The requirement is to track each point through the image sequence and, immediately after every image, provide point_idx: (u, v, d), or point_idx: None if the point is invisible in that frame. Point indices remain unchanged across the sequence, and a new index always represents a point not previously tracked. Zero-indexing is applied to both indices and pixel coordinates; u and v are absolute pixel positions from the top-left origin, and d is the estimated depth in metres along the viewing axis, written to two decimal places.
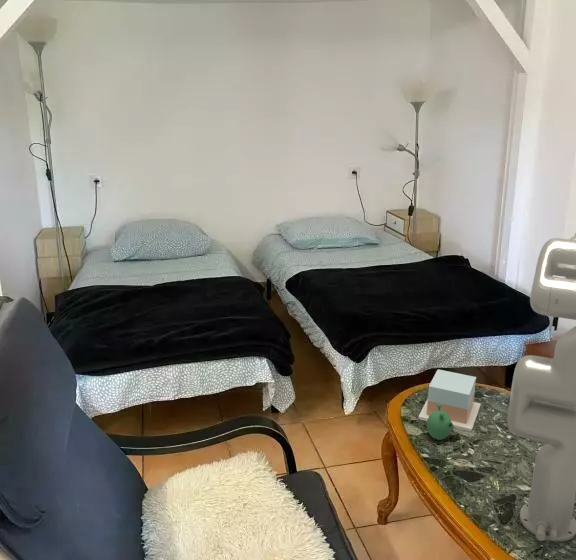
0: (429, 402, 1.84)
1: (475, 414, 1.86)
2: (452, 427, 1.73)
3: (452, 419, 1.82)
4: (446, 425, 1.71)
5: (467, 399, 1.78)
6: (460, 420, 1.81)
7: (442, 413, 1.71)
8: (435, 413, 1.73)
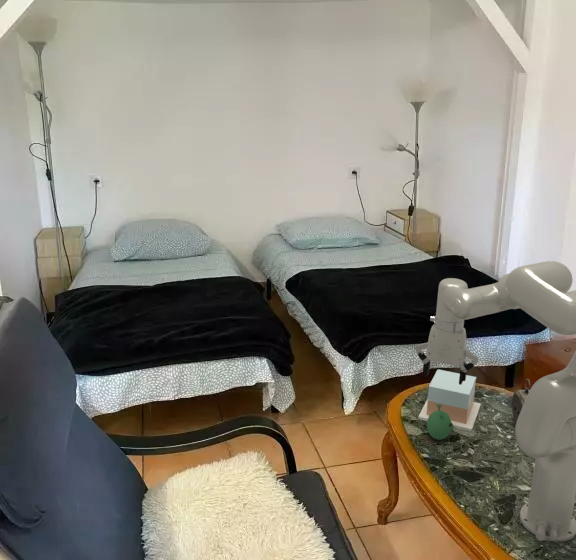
0: (429, 402, 1.84)
1: (475, 414, 1.86)
2: (452, 427, 1.73)
3: (452, 419, 1.82)
4: (446, 425, 1.71)
5: (467, 399, 1.78)
6: (460, 420, 1.81)
7: (442, 413, 1.71)
8: (435, 413, 1.73)
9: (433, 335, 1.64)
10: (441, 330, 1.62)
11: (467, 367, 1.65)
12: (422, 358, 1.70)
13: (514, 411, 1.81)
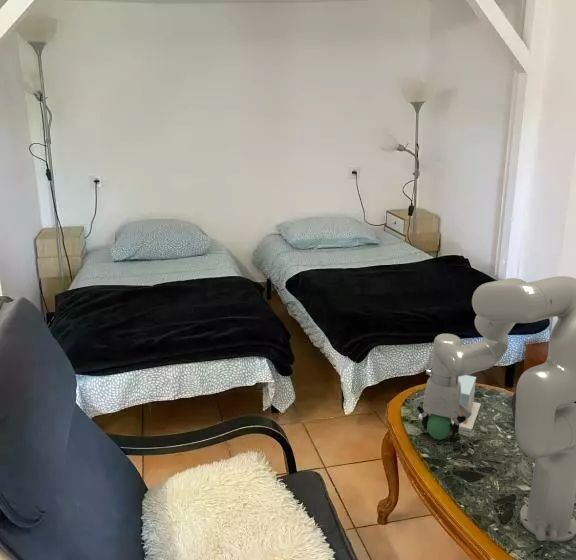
0: None
1: (475, 414, 1.86)
2: (452, 427, 1.73)
3: (452, 419, 1.82)
4: (446, 425, 1.71)
5: (467, 399, 1.78)
6: None
7: None
8: None
9: (429, 388, 1.70)
10: (437, 384, 1.67)
11: (460, 420, 1.70)
12: (421, 411, 1.75)
13: (514, 411, 1.81)
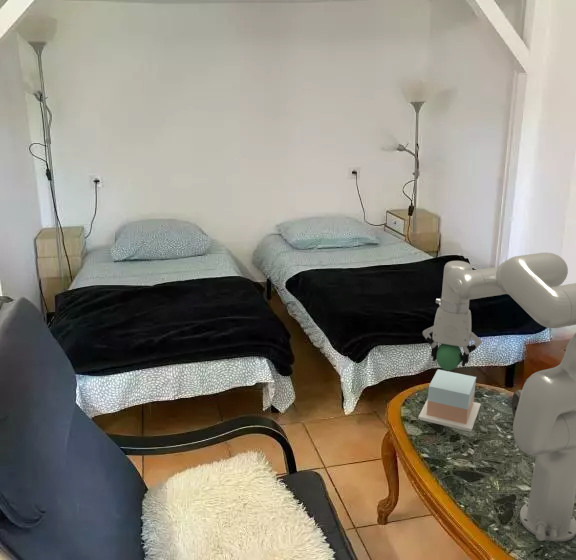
0: (429, 402, 1.84)
1: (475, 414, 1.86)
2: (462, 357, 1.72)
3: (452, 419, 1.82)
4: (456, 354, 1.70)
5: (467, 399, 1.78)
6: (460, 420, 1.81)
7: None
8: None
9: (439, 317, 1.68)
10: (447, 311, 1.65)
11: (470, 349, 1.69)
12: (430, 342, 1.73)
13: (514, 411, 1.81)
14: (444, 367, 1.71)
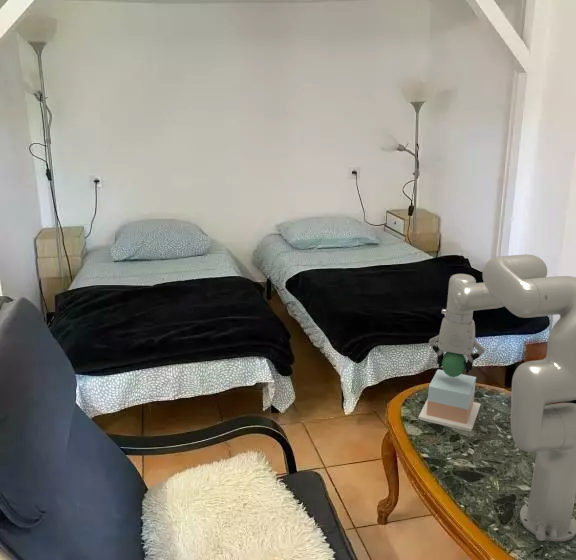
0: (429, 402, 1.84)
1: (475, 414, 1.86)
2: (466, 365, 1.82)
3: (452, 419, 1.82)
4: (460, 362, 1.80)
5: (467, 399, 1.78)
6: (460, 420, 1.81)
7: None
8: None
9: (444, 326, 1.78)
10: (452, 322, 1.76)
11: (473, 357, 1.79)
12: (436, 350, 1.83)
13: None
14: (449, 374, 1.82)
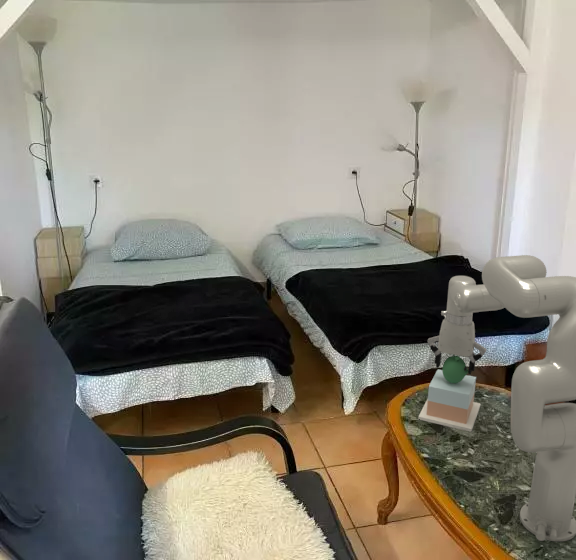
0: (429, 402, 1.84)
1: (475, 414, 1.86)
2: (466, 371, 1.82)
3: (452, 419, 1.82)
4: (461, 368, 1.80)
5: (467, 399, 1.78)
6: (460, 420, 1.81)
7: (457, 357, 1.79)
8: (450, 358, 1.82)
9: (444, 328, 1.78)
10: (451, 323, 1.76)
11: (476, 358, 1.79)
12: (434, 350, 1.84)
13: None
14: (450, 380, 1.82)
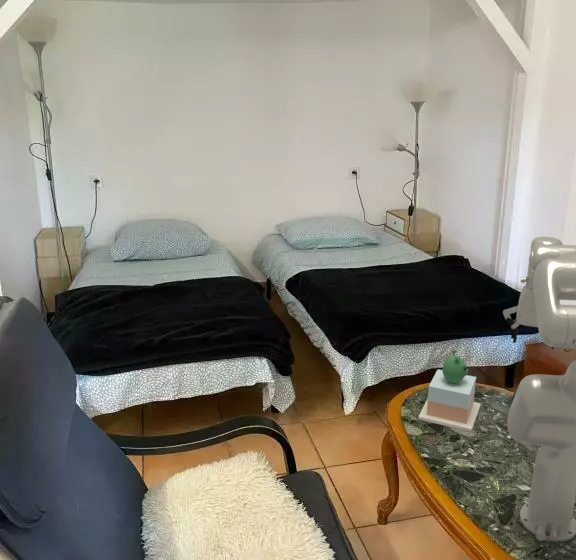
0: (429, 402, 1.84)
1: (475, 414, 1.86)
2: (467, 371, 1.82)
3: (452, 419, 1.82)
4: (461, 368, 1.80)
5: (467, 399, 1.78)
6: (460, 420, 1.81)
7: (457, 357, 1.79)
8: (450, 358, 1.82)
9: (525, 297, 1.58)
10: None
11: None
12: (510, 323, 1.63)
13: None
14: (450, 380, 1.82)
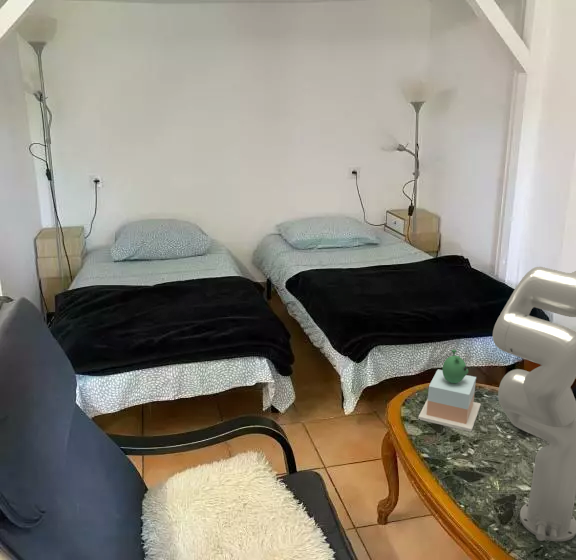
0: (429, 402, 1.84)
1: (475, 414, 1.86)
2: (467, 371, 1.82)
3: (452, 419, 1.82)
4: (461, 368, 1.80)
5: (467, 399, 1.78)
6: (460, 420, 1.81)
7: (457, 357, 1.79)
8: (450, 358, 1.82)
9: None
10: None
11: None
12: None
13: None
14: (450, 380, 1.82)
